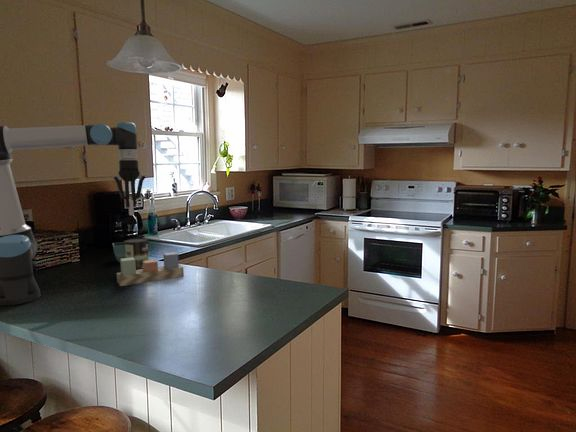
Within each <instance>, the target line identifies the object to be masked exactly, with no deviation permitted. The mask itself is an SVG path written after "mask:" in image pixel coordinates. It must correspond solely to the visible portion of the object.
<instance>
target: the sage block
mask: <svg viewBox="0 0 576 432" xmlns="http://www.w3.org/2000/svg"><path fill="white" fill-rule="evenodd" d="M119 264H120V272H121V274H122V275H123V276H125V275H132V274H136V264H135V259H134V258H133V257H131V258H123V259H120V262H119Z"/></svg>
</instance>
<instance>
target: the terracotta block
mask: <svg viewBox="0 0 576 432" xmlns="http://www.w3.org/2000/svg"><path fill="white" fill-rule="evenodd" d="M158 267H159V266H158V260H156V259H149V260H146V261H143V271H144V272H152V271H158Z"/></svg>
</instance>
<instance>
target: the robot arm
mask: <svg viewBox="0 0 576 432" xmlns="http://www.w3.org/2000/svg"><path fill="white" fill-rule="evenodd" d="M136 127H137V126H136V124H135V123H134V122H129V121H127V122H122V121H121V122H117V124H116V126H113V127H112V126H108V125H107V124H104V123H96V124H88V125H87V124H86V125H60V126H58V125H57V126H39V127H38V126H37V127H19V128H18V127H15V128H14V127H13V128H12V127H11V128H9V127H8V126H7V125H0V306H1V307H2V306H16V305H22V304H26V303H30V302H32V301H35V300H37V299H39V298H40V297H41V296H42V295H41V289H40V288H39V285H38V283H37V281H36V278H35V277H34V271H33V269H34V268H33V259H34V258H35V257H36V255H37V253H38V248H39V246H38V245H39V244H38V241H37V239H36V238H35V236H34V233H33V230H32V227H31V226H29V225H28V224H26V221H25V217H24V214H23V213H24V212H23V209H22V205H21V202H20V199H19V193H18V191H17V187H16V182H15V179H14V176H13V172H12V168H11V164H12V162H14V158H13V154H12V152H13V151H14V150H15V151H16V150H17V151H18V150H30V149H31V150H32V149H45V148H46V149H47V148H49V149H50V148H63V147H65V148H66V147H77V146H94V147H95V146H117V147H118V149H117V150H118V159H119V161H118V164H119V167H118V168H119V171H118V173H117V175H115V176H113V177H112V179H113V180H114V181H115V183H116V186H117V189H118V192H119V193H118V194H119V196H120V199H123V200H125V207H126V208H128V215H129V216H134V215H135V211H134V208H136V207H137V206H136V205H137V202H136V201H137V199H139V198H140V197H141V195H142V194H141V193H142V189H143V182H144V181H145V179H146V176H145V175H142V174H141V173H140V171H139V170H140V169H139V161H138V158H139V157H138V138H137V136H138V135H137V134H138V133H137V128H136ZM137 179H138V183H137V187H136V181H137ZM121 180H122V181H123V182H124V190H123V186H122V185H121ZM129 184H130V187H129ZM130 190H131V191H130ZM130 192H131V193H130ZM130 194H131V199H130Z"/></svg>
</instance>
